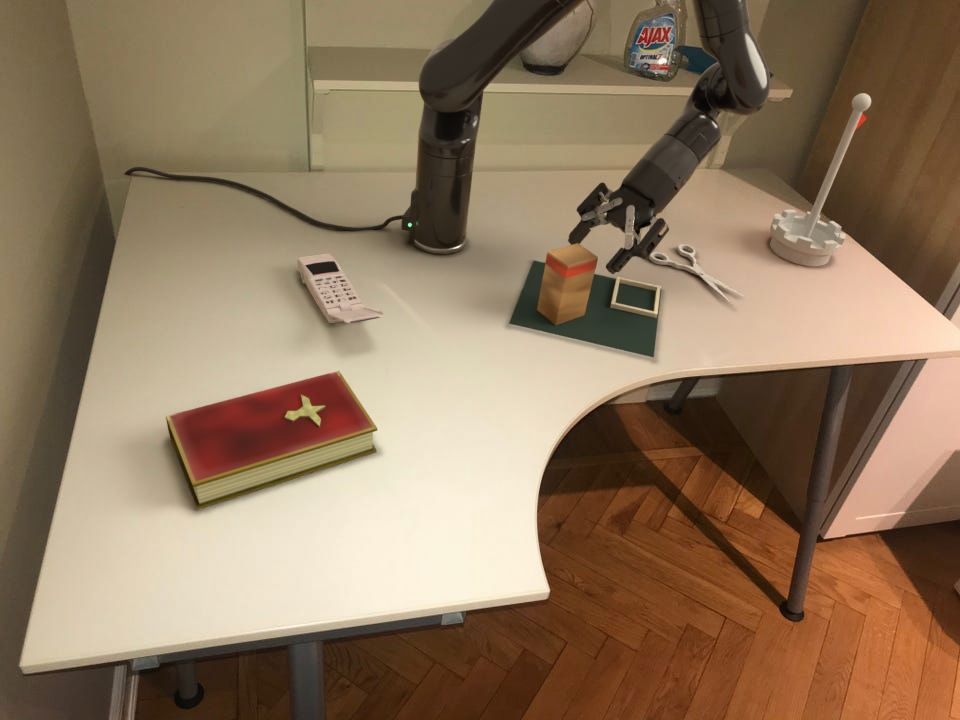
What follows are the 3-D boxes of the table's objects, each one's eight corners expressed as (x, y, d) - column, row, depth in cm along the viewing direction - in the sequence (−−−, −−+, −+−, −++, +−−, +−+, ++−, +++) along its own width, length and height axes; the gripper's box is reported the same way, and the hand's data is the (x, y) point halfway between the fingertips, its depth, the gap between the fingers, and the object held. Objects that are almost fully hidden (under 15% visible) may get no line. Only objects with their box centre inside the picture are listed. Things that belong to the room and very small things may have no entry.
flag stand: (812, 276, 138) (884, 113, 119) (751, 244, 145) (810, 86, 127) (847, 257, 145) (920, 101, 127) (787, 228, 152) (848, 76, 134)
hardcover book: (169, 438, 90) (164, 412, 87) (337, 392, 99) (337, 366, 97) (197, 510, 82) (192, 483, 79) (376, 452, 92) (377, 426, 89)
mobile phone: (344, 322, 102) (290, 232, 118) (343, 357, 105) (291, 264, 122) (386, 314, 104) (327, 227, 121) (384, 349, 108) (327, 259, 124)
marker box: (536, 310, 119) (547, 251, 112) (565, 300, 122) (577, 242, 115) (555, 325, 116) (567, 266, 109) (584, 315, 119) (598, 257, 112)
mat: (508, 325, 115) (509, 318, 114) (533, 262, 131) (534, 256, 130) (652, 360, 112) (655, 353, 112) (660, 291, 128) (662, 284, 127)
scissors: (680, 239, 142) (763, 293, 129) (679, 242, 142) (761, 297, 130) (638, 249, 137) (719, 307, 124) (637, 253, 137) (718, 311, 125)
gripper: (619, 141, 115) (549, 224, 117) (689, 180, 107) (613, 269, 108) (635, 168, 121) (568, 247, 122) (703, 207, 113) (631, 291, 114)
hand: (589, 257), depth 115 cm, fingers open, 8 cm apart
